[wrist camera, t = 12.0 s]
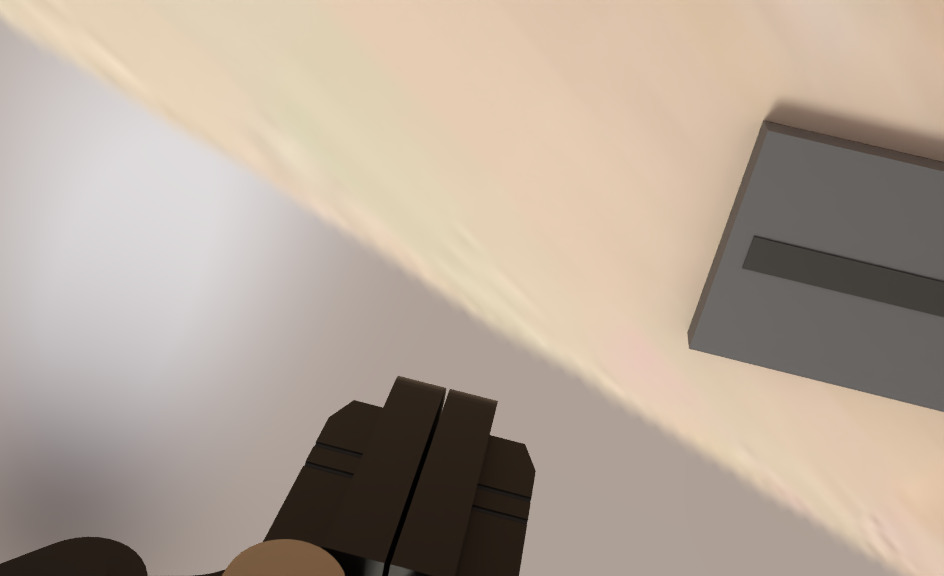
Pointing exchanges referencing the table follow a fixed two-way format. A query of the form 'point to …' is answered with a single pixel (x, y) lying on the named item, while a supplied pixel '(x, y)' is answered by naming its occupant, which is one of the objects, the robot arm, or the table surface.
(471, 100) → the table surface
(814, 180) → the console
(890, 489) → the table surface
